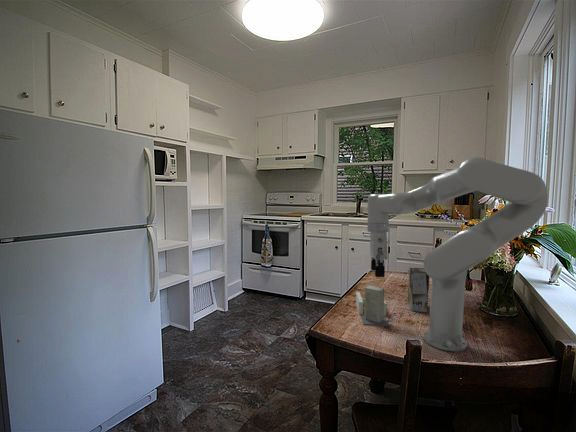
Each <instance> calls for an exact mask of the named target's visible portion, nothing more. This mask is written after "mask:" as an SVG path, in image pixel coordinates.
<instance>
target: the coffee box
mask: <svg viewBox="0 0 576 432" xmlns="http://www.w3.org/2000/svg"><path fill="white" fill-rule="evenodd" d="M407 286H408V287H407V288H408V289H407V305H408V307H409V309H410V310H411V312H412V311H413V312H421V313H428V309H429V308H428V305H429V304H428V303H429V289H430V288H429V287H430V277H429V276H428V275H427V273H426V272H425V269H424V267H408V284H407Z"/></svg>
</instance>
